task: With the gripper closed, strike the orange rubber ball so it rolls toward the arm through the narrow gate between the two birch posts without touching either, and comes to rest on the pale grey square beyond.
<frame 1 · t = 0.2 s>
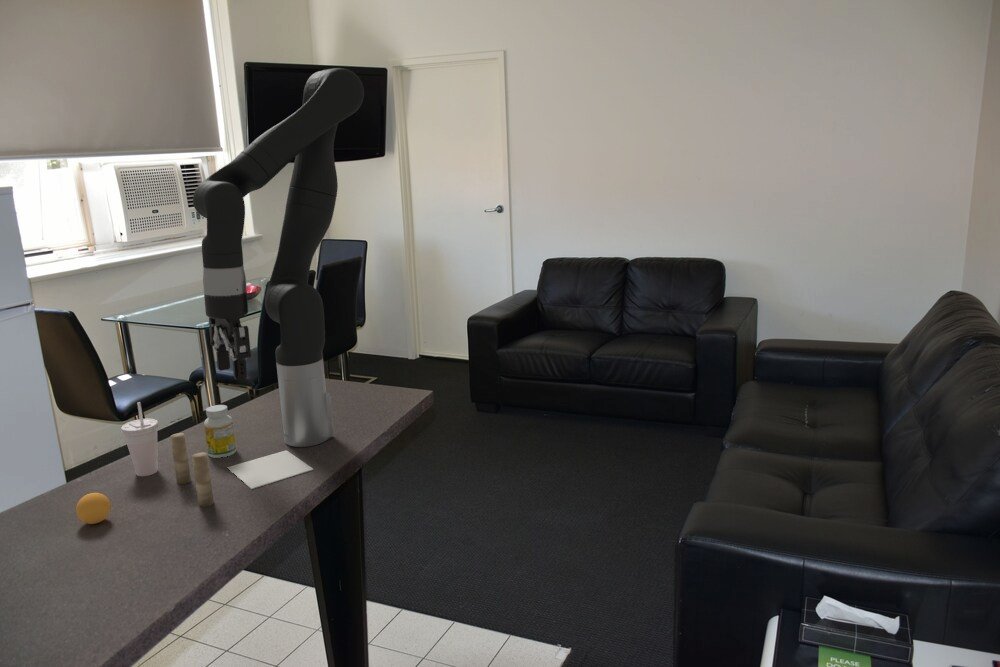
hand: (232, 374, 143), 17 cm above the table, tool pointing down, fingers open, 8 cm apart
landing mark: (269, 469, 142), on the table
ball: (93, 508, 123), on the table
supplement bottle: (222, 454, 150), on the table
post 2: (206, 503, 129), on the table
post 1: (184, 481, 138), on the table
smoothie: (147, 473, 142), on the table
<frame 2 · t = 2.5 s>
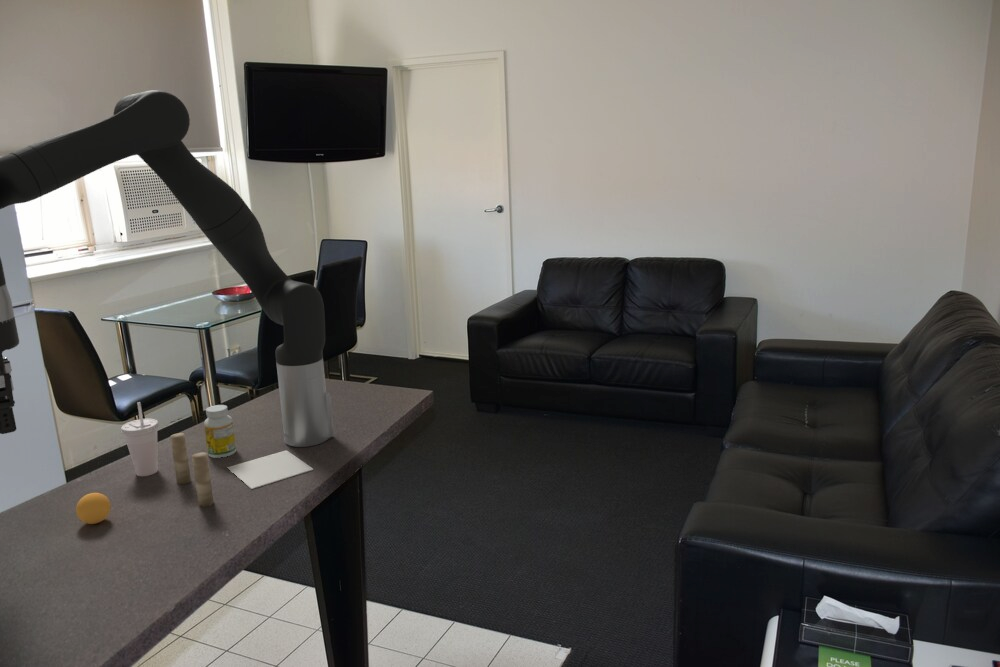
hand: (6, 428, 113), 19 cm above the table, tool pointing down, fingers open, 3 cm apart
nothing on the table moved.
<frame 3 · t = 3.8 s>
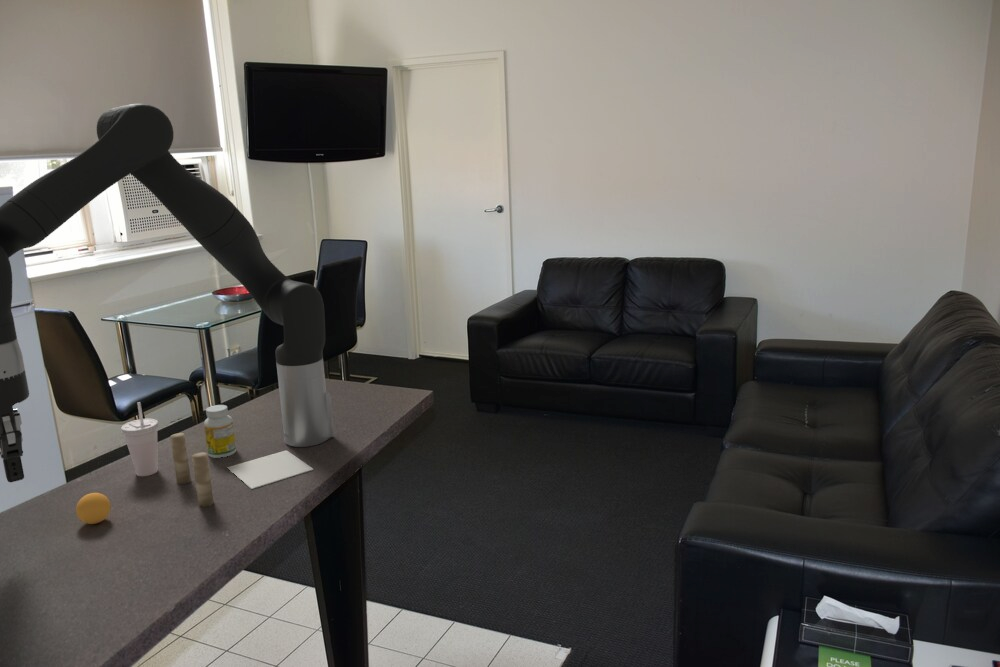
hand: (15, 479, 115), 11 cm above the table, tool pointing down, fingers closed
nothing on the table moved.
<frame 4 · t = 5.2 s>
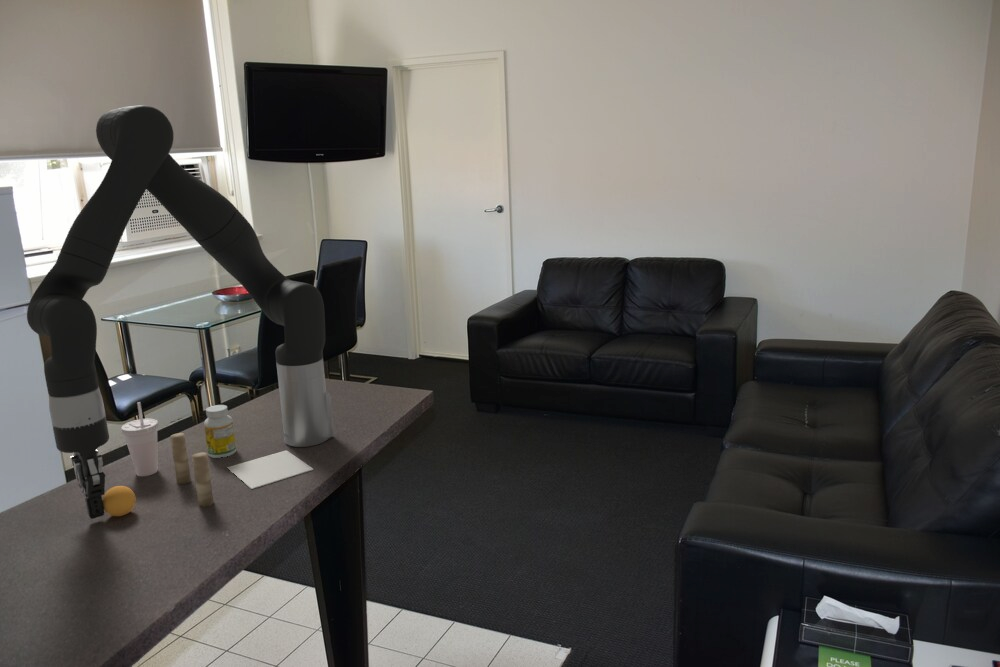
hand: (96, 515, 124), 1 cm above the table, tool pointing down, fingers closed
ball: (119, 500, 125), on the table
everything else where it was.
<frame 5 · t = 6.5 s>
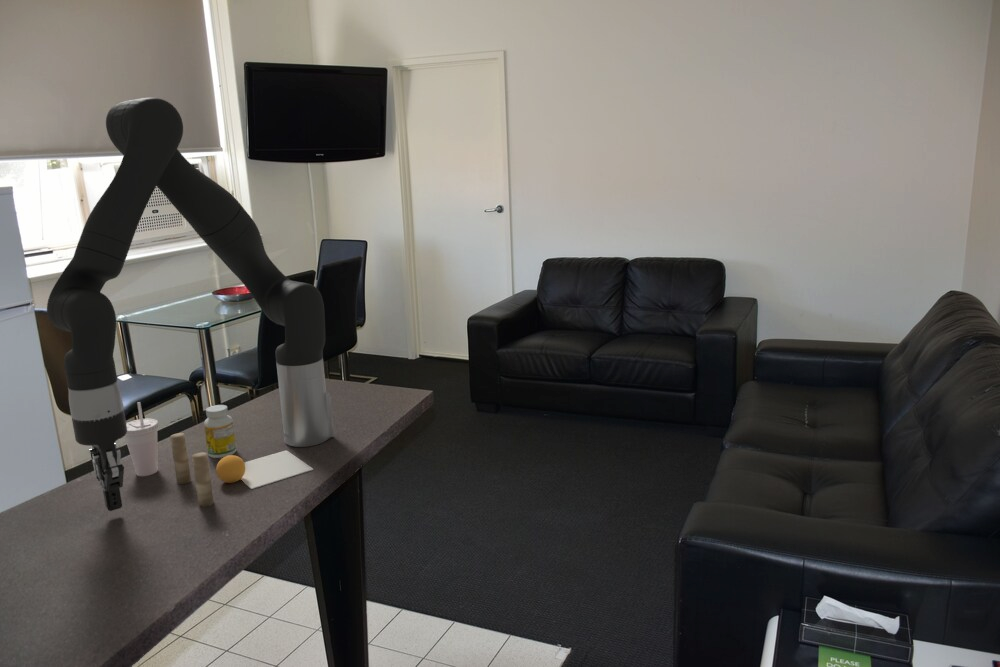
hand: (114, 507, 125), 2 cm above the table, tool pointing down, fingers closed
ball: (230, 468, 137), on the table
everything else where it was.
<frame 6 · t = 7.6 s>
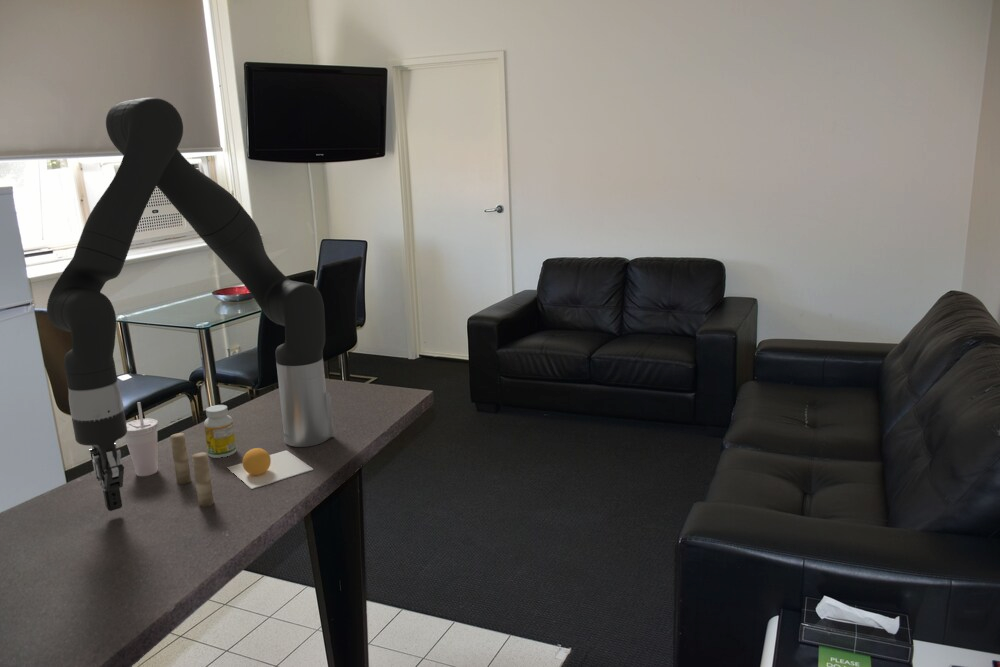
hand: (114, 507, 125), 2 cm above the table, tool pointing down, fingers closed
ball: (256, 461, 140), on the table
everything else where it was.
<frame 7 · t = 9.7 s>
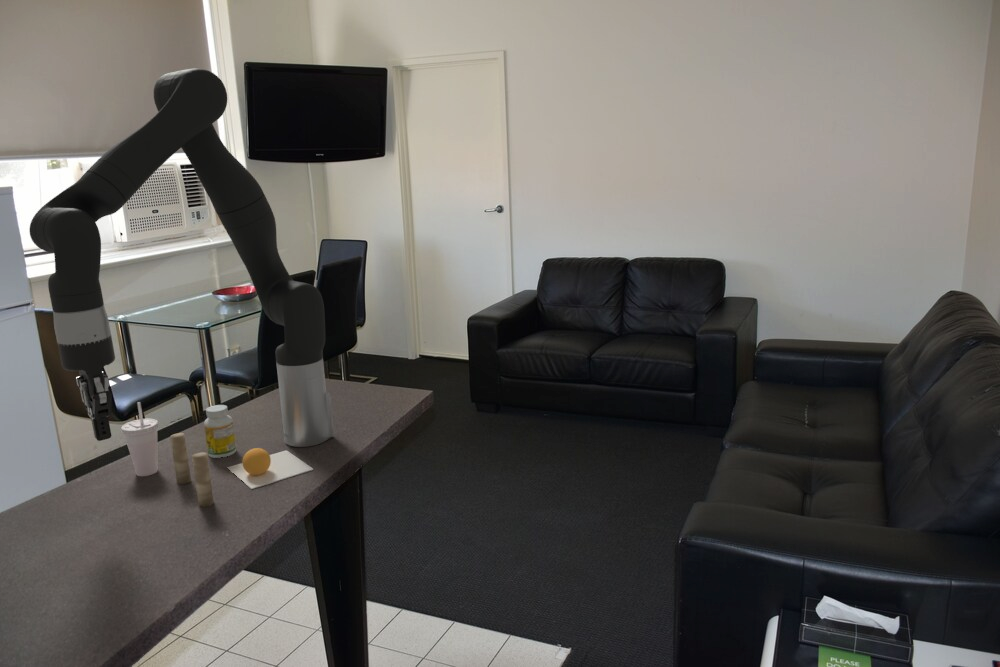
hand: (103, 438, 122), 14 cm above the table, tool pointing down, fingers closed
nothing on the table moved.
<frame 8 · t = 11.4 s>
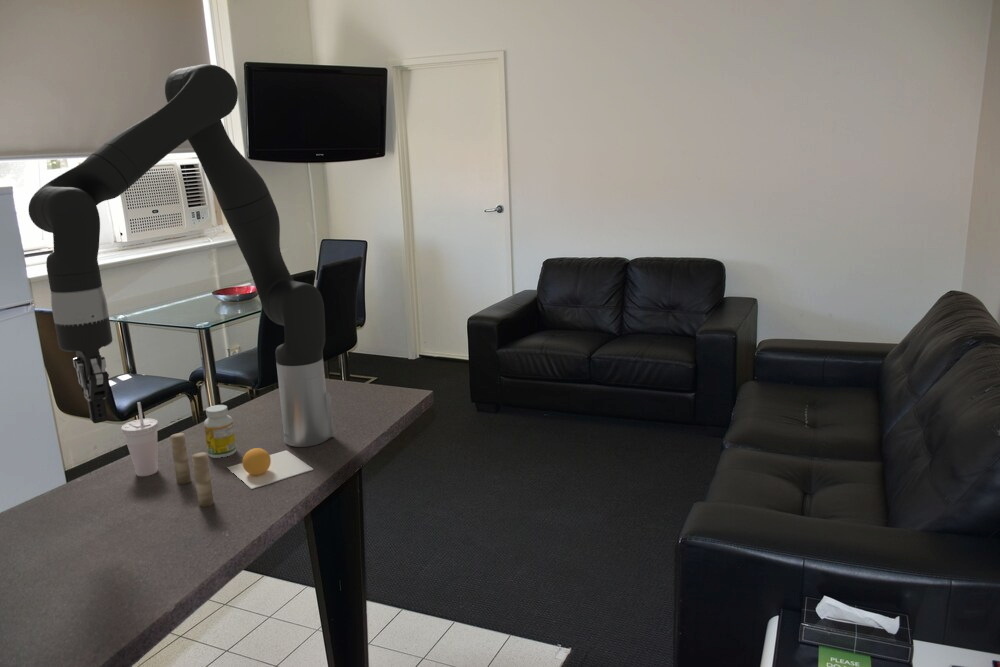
hand: (99, 420, 121), 17 cm above the table, tool pointing down, fingers closed
nothing on the table moved.
at the end: ball 2.6 cm from the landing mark (horizontally); ball never touched post 2; ball never touched post 1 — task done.
